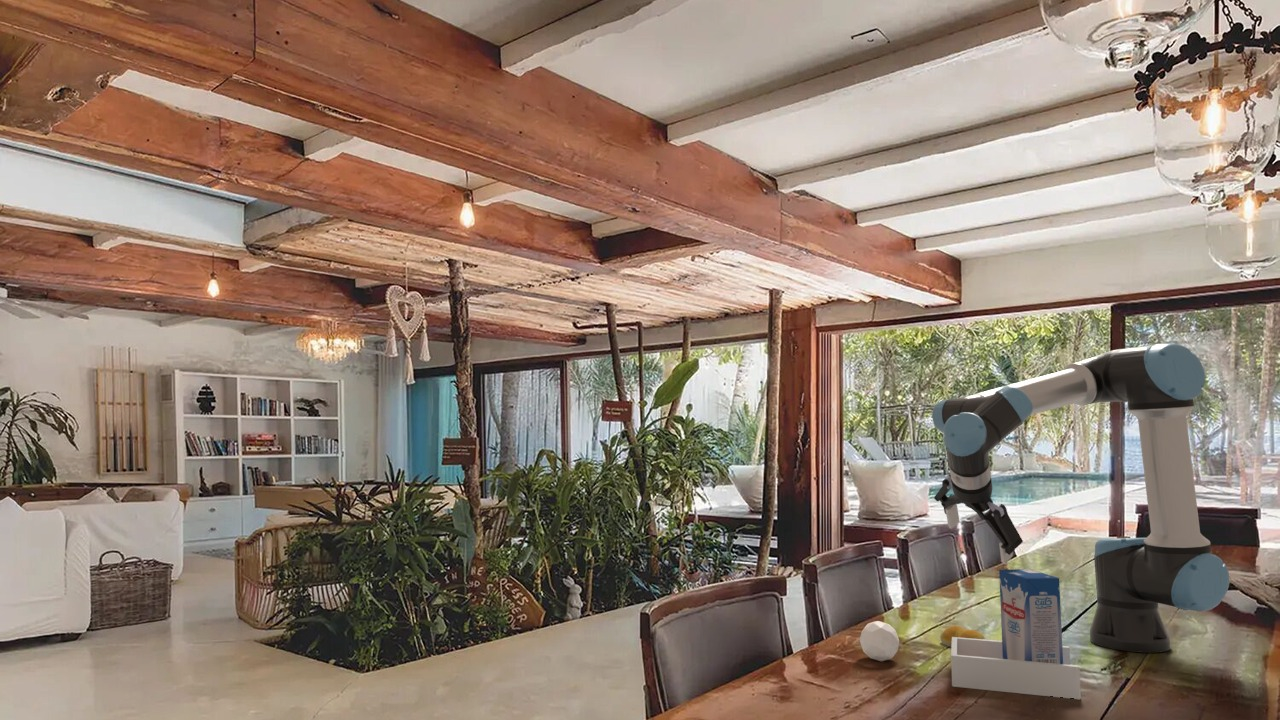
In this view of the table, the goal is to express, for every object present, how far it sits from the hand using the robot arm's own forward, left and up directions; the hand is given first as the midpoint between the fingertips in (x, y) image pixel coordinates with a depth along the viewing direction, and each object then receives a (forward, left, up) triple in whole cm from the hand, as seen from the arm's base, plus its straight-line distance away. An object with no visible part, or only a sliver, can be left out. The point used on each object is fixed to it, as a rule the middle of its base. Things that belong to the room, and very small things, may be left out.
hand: (979, 541), depth 177 cm
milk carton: (-8, +21, -23) cm, 32 cm away
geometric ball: (+20, +15, -23) cm, 34 cm away
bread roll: (+4, -4, -23) cm, 24 cm away
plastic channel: (-4, +21, -23) cm, 32 cm away
